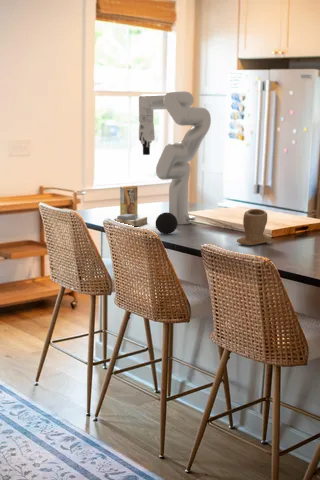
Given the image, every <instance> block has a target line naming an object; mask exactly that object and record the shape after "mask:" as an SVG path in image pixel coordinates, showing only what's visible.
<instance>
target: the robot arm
mask: <svg viewBox="0 0 320 480" xmlns="http://www.w3.org/2000/svg"><path fill="white" fill-rule="evenodd" d="M194 101H195V100H194V96H193V94H192V93H191V92H189V91H186V90H171V91H167V92H166V93H165V94H142V95H139V96H138V122H139V124H138V125H139V126H138V140H139V142H140V144H141V145H142V155H143V156H149V155H151V153H150V148H151V144H152V142H153V141H155V136H156V135H155V125H154V123H155V122H154V111H155V110H166V111H167V112H168V113H169V116H171V118H172V120H173V121H174V122H175V124H176V125H178V126H182V127H183V126H186V127H187V126H188V127H189V126H192V127H191V128H190V129H188V130H187V131H186V133H185V134H184V136H183V138H182V140H181V141H180V142H171V143H168V144H167V145H165V146H164V147H163V150H162V152H161V155H160V157H159V159H158V161H157V164H156V167H155V174H156V176H157V178H158V179H160V180H163V181H164V180H166V181H168V180H171V182H169V188H168V213H171V214H173V215H174V216H175V217H176V219H177V226H179V225H190V224H191V223H192V221H194V222H195V221H196V216H193V215H191V213H189V180H190V176H191V171H192V170H191V164H190V162H191V161H193V160H194V158H195V156H196V155H197V152H198V151H199V148H200V146H201V144H202V141H203V140H204V139H205V137H206V135H207V134H208V132H209V130H210V127H211V125H212V124H211V123H212V120H211V113H210V111H209V110H208V109H207V108H204V107H199V106H193V104H194V103H195V102H194Z"/></svg>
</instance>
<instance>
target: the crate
mask: <svg viewBox="0 0 320 480" xmlns="http://www.w3.org/2000/svg"><path fill="white" fill-rule="evenodd" d="M116 218H117V219H122V220H137V214H136V215H134V214H123V215H120V214H119V215H118V216H116Z"/></svg>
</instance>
